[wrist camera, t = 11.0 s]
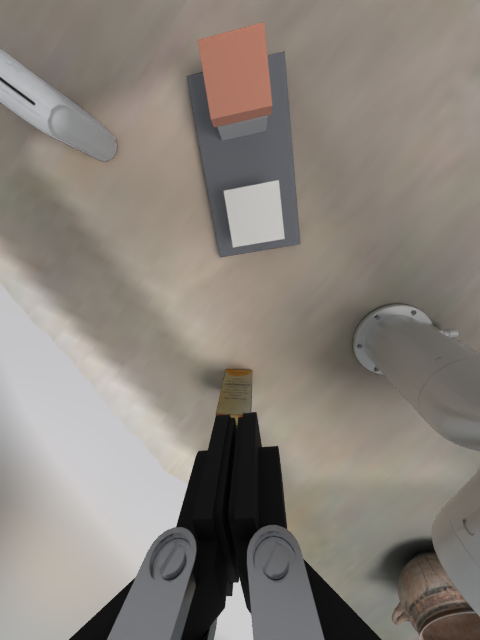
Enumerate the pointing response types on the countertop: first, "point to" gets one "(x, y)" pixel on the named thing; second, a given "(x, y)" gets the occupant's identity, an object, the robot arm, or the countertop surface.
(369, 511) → the countertop surface
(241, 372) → the shoe polish box
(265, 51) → the salmon pink block
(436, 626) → the cooking pot
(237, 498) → the robot arm
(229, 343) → the countertop surface
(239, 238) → the white plunger
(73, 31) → the countertop surface
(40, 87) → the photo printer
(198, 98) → the block
